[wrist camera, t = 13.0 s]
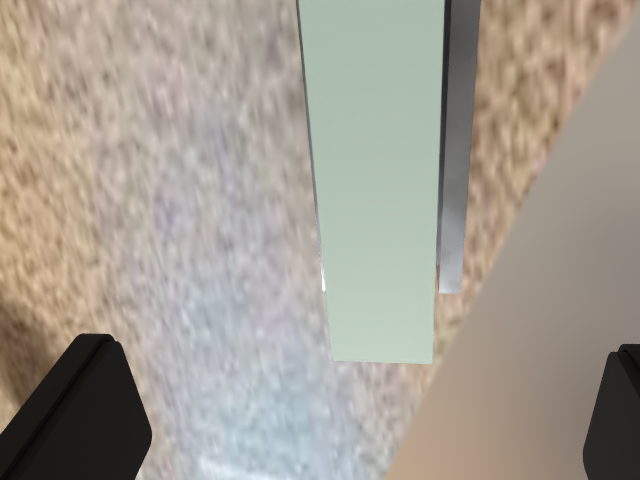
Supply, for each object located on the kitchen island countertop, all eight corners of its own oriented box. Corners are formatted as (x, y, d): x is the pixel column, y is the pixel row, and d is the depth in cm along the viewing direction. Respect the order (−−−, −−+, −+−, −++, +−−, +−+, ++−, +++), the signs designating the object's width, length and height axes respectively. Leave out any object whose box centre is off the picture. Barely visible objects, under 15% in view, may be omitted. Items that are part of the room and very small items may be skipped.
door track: (301, -110, 24) (285, -117, 21) (477, -129, 23) (490, -139, 20) (330, 255, 34) (322, 291, 31) (454, 256, 33) (460, 293, 30)
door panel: (340, -40, 25) (296, -21, 14) (426, -48, 24) (445, -34, 14) (354, 221, 32) (331, 360, 21) (421, 221, 31) (432, 364, 21)
